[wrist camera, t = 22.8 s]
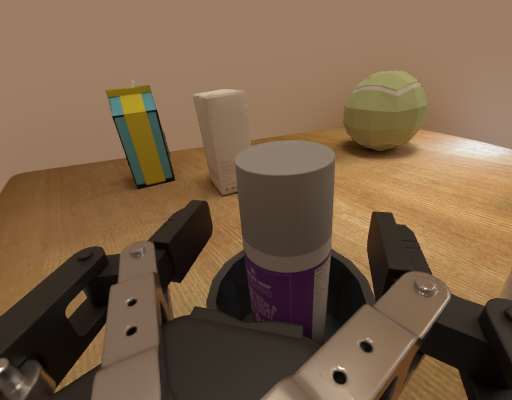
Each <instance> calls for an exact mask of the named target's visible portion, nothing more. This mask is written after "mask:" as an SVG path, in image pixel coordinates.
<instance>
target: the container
mask: <svg viewBox="0 0 512 400" xmlns="http://www.w3.org/2000/svg"><path fill="white" fill-rule="evenodd" d="M235 170H236V180H237V189H238V199H239V208H240V218H241V228H242V237H243V248H244V256H245V263H246V270H247V277H248V284H249V292H250V299H251V306H252V313H253V320H254V322H258V321H279V322H285V323H291V324H296V325H302V326H303V336H305V337H307V338H309V339H311V340H312V341H314V342H316V343H317V344H318V345H320V346H321V347H322V346H323V345H324V333H325V320H326V308H327V295H328V283H329V270H330V258H331V241H332V218H333V195H334V173H335V153H334V152H333V150H332V149H330V148H329V147H327V146H325V145H322V144H319V143H315V142H309V141H299V140H284V141H273V142H266V143H262V144H258V145H254V146H251V147H249V148H246V149H244V150H243V151H241V152H240V153H238V154H237V156H236V157H235Z"/></svg>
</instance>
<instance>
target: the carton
mask: <svg viewBox="0 0 512 400" xmlns="http://www.w3.org/2000/svg"><path fill="white" fill-rule="evenodd" d="M106 93H107V96H108V99H109V104H110V108H111V112H112V117H113V120H114V123H115V126H116V128H117V131H118V134H119V137H120V140H121V143H122V146H123V149H124V151H125V154H126V159H127V161H128V165H129V166H130V169H131V172H132V175H133V178H134V180H135V183H136V186H137V189H140V188H144V187H148V186H153V185H157V184H161V183H166V182H170V181H174V180H175V178H174V174H173V170H172V166H171V162H170V161H171V159H170V153H169V150H168V146H167V142H166V139H165V135H164V132H163V130H162V127H161V124H160V120H159V116H158V112H157V108H156V106H155V102H154V99H153V96H152V93H151V89H150V86H149V85H148V86H138V87H135V79H131V87H129V88H121V89H113V90H106Z"/></svg>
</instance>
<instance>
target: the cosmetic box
mask: <svg viewBox="0 0 512 400" xmlns="http://www.w3.org/2000/svg"><path fill="white" fill-rule="evenodd" d="M193 99H194V104H195V108H196V112H197V117H198V122H199V126H200V131H201V136H202V140H203V145H204V149H205V154H206V159H207V163H208V168H209V173H210V178H211V181H212V182H213V183H214V185H215V186H216V187H217V189H218V190H219V191H220V193H221V194H222V195H227V194H231V193H235V192H238V189H237V180H236V170H235V157H236V156H237V154H238V153H240V152H241V151H243V150H244V149H246V148H249V147H251V140H250V132H249V124H248V116H247V108H246V99H245V91H240V90H232V89H222V90H216V91H211V92H204V93H198V94H194V95H193Z"/></svg>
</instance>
